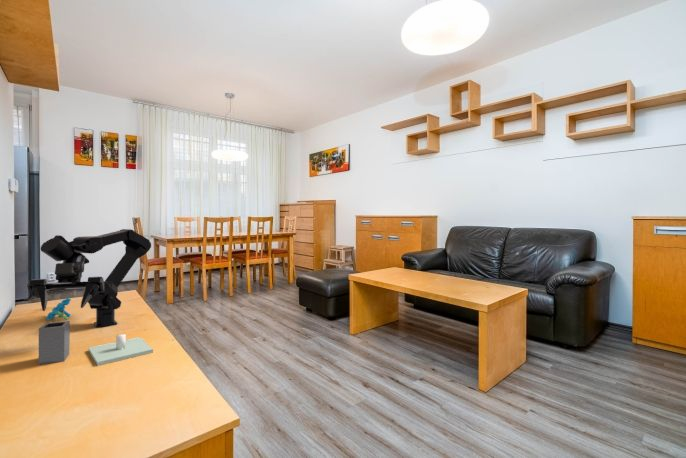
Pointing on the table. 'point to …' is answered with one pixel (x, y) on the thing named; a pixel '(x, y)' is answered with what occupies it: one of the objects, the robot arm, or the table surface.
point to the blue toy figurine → (59, 310)
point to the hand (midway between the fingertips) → (62, 308)
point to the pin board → (119, 350)
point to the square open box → (54, 342)
